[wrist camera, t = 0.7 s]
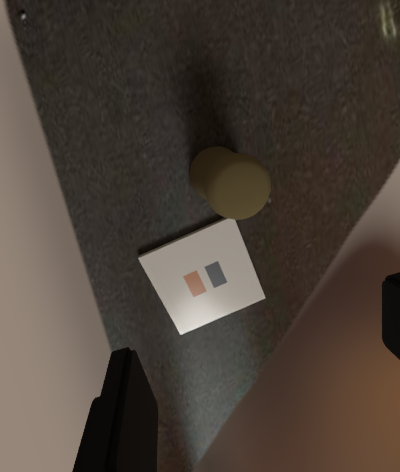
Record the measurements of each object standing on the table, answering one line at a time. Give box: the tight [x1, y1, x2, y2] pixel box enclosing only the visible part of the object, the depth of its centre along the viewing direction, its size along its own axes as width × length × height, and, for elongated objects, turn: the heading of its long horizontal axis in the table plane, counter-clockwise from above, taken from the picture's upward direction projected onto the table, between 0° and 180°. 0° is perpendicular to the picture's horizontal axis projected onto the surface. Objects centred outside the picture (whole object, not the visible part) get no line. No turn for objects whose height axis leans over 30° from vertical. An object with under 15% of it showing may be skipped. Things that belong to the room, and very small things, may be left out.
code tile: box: [138, 218, 265, 335], centre depth 34 cm, size 12×12×1 cm
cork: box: [189, 146, 271, 220], centre depth 25 cm, size 6×6×11 cm
